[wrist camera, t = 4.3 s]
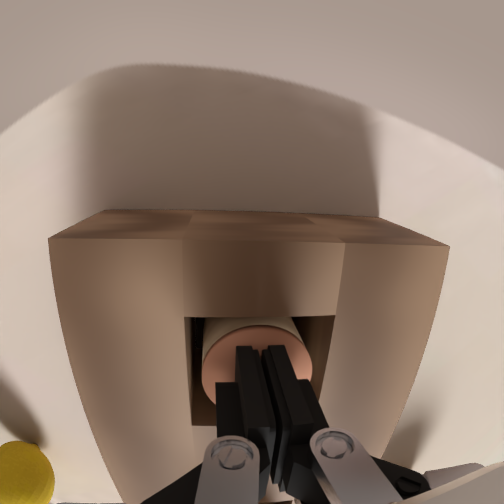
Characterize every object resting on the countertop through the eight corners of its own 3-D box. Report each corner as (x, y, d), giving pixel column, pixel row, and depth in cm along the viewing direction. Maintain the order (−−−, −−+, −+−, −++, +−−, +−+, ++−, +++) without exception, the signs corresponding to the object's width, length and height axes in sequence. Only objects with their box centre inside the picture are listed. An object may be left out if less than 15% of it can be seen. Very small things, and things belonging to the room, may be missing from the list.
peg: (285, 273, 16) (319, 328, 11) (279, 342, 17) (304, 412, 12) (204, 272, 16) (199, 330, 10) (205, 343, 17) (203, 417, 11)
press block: (379, 217, 16) (449, 246, 10) (319, 479, 22) (337, 533, 16) (104, 210, 15) (47, 238, 9) (152, 485, 20) (146, 542, 15)
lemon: (67, 443, 18) (39, 521, 11) (62, 473, 20) (41, 540, 12) (8, 411, 17) (-32, 479, 10) (10, 445, 18) (-20, 506, 11)
